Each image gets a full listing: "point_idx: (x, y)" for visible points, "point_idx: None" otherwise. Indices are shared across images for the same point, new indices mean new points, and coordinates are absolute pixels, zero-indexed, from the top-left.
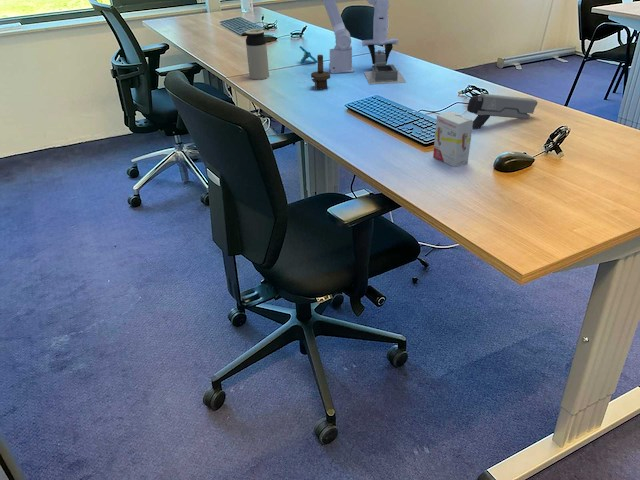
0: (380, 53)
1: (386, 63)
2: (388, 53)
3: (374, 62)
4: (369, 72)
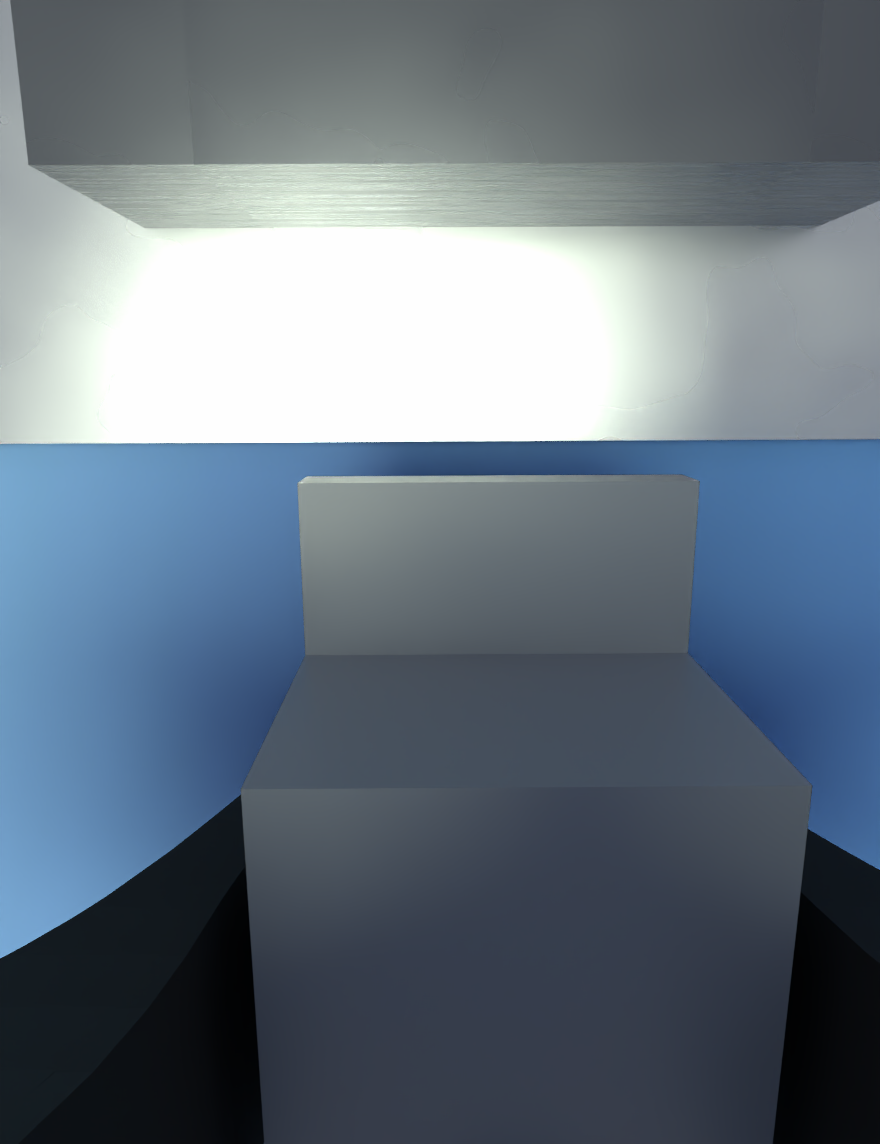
0: (490, 1108)
1: None
2: (64, 951)
3: None
4: (866, 327)
